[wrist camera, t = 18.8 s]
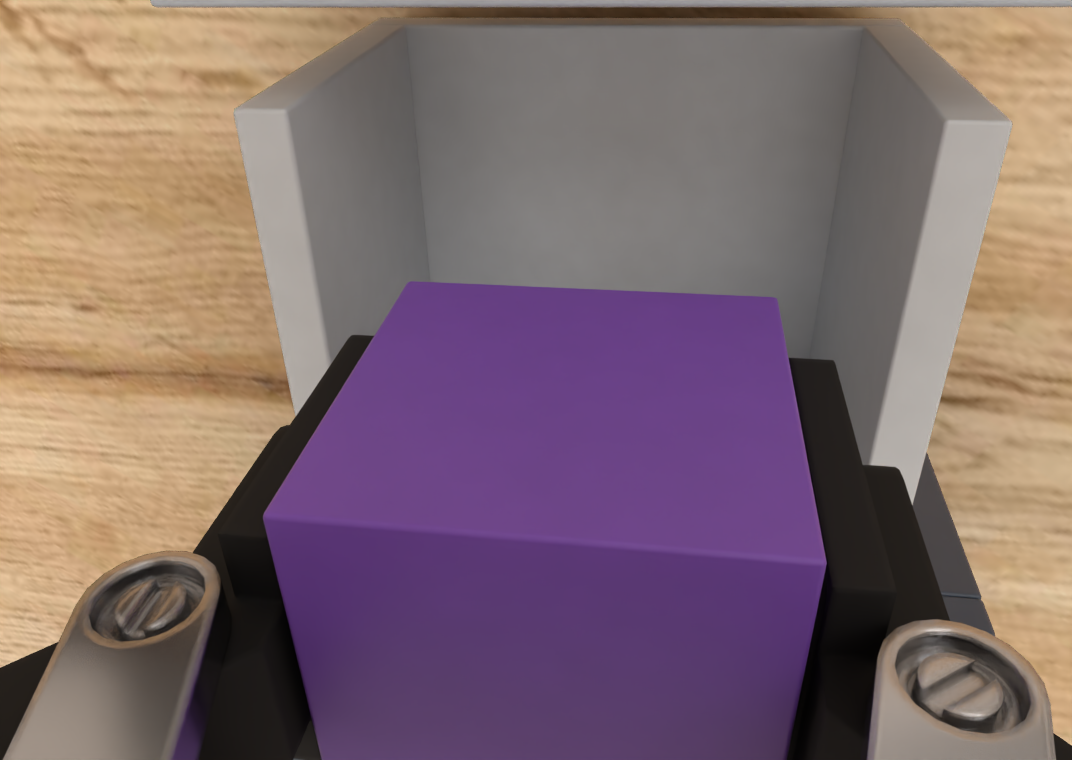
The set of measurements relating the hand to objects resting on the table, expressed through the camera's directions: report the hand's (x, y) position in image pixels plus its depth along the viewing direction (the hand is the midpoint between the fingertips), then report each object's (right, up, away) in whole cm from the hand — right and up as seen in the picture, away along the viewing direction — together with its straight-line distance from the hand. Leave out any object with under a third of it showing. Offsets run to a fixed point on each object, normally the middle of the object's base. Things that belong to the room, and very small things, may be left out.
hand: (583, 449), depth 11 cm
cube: (0, 0, 0) cm, 0 cm away
